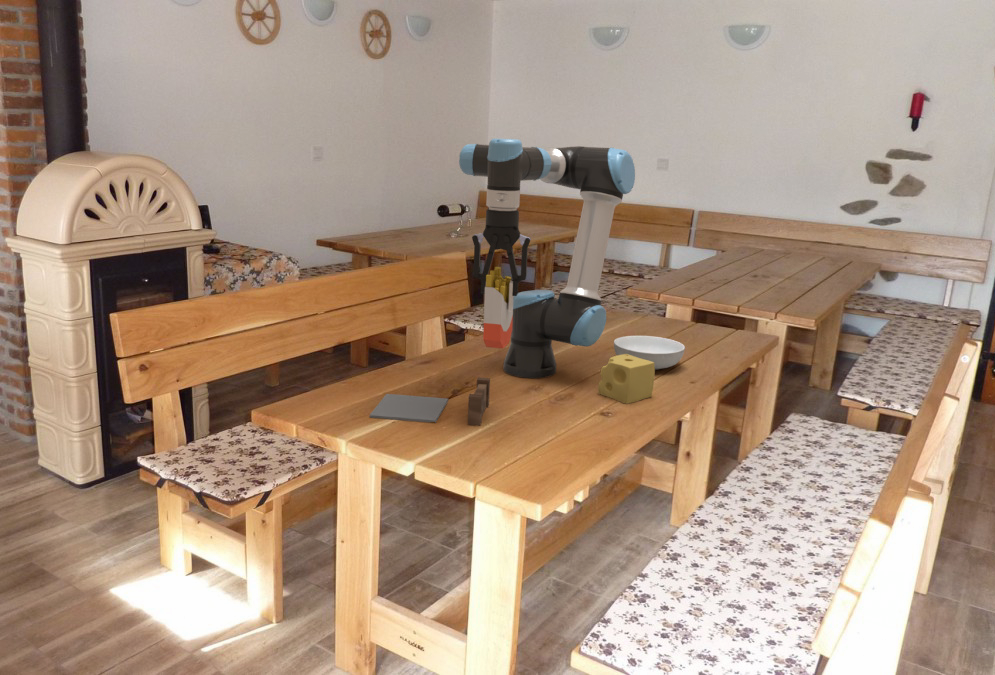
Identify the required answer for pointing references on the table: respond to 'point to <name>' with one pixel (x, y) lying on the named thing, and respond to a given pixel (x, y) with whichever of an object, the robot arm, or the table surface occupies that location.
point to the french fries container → (497, 310)
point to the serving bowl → (651, 349)
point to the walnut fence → (478, 401)
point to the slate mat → (409, 408)
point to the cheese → (627, 378)
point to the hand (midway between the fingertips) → (498, 308)
